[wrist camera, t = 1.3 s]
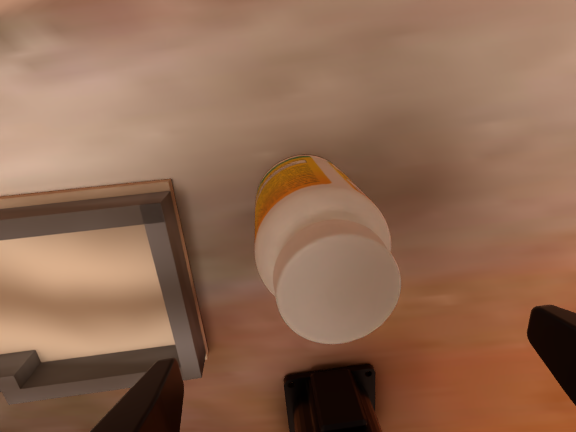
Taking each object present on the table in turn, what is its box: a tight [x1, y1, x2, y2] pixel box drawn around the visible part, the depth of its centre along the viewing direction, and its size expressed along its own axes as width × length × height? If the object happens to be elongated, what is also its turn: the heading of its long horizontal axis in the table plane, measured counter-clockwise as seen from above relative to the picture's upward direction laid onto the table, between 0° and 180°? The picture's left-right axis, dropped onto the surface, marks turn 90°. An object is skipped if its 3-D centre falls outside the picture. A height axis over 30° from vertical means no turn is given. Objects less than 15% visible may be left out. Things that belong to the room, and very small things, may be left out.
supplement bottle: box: [255, 155, 401, 344], centre depth 15 cm, size 5×5×10 cm
